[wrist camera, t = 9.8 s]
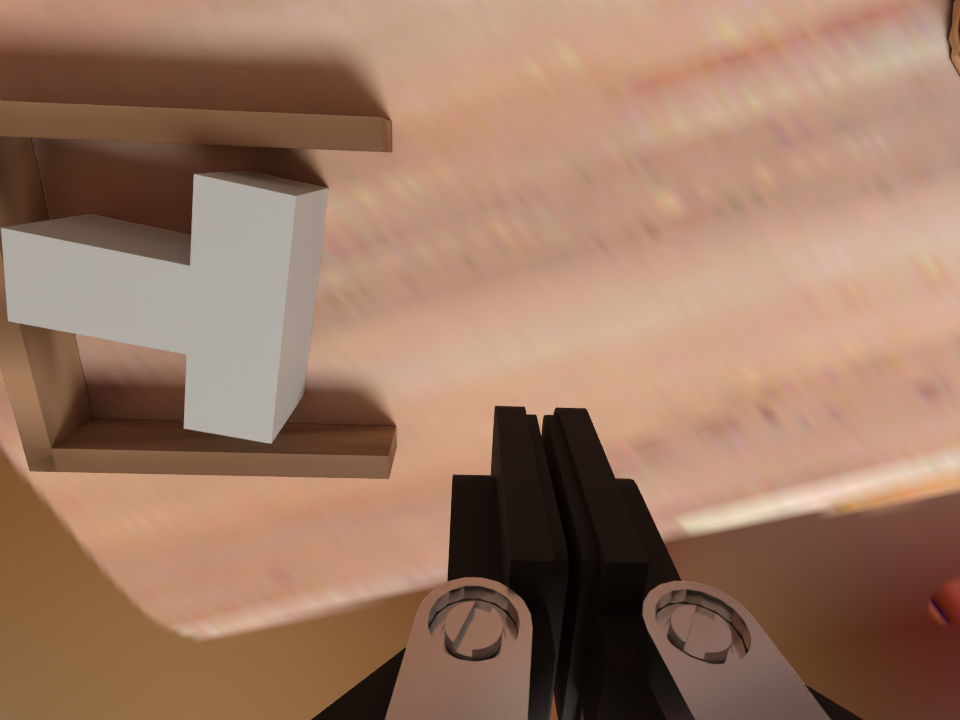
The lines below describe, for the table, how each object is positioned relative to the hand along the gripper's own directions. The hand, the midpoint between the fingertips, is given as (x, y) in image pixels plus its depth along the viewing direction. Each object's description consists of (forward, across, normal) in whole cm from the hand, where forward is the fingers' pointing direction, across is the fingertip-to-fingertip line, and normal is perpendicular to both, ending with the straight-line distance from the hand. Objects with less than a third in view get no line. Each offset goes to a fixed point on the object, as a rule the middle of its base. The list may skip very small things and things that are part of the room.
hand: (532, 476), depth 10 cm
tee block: (+16, +13, +1) cm, 21 cm away
